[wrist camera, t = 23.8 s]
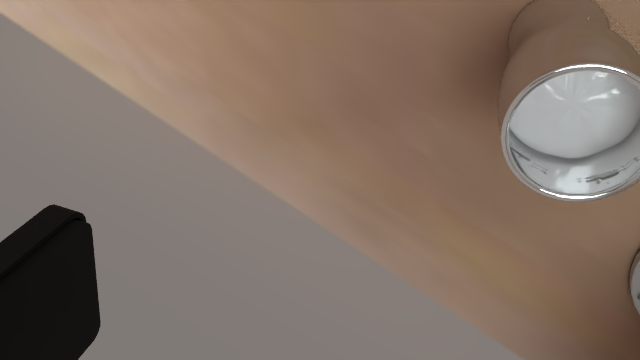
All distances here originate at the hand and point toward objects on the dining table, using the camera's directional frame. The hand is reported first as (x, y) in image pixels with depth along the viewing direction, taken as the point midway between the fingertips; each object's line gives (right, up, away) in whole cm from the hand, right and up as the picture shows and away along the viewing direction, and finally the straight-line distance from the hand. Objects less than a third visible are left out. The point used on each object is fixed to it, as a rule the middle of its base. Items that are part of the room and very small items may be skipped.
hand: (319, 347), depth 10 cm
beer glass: (+15, +12, +27) cm, 33 cm away
